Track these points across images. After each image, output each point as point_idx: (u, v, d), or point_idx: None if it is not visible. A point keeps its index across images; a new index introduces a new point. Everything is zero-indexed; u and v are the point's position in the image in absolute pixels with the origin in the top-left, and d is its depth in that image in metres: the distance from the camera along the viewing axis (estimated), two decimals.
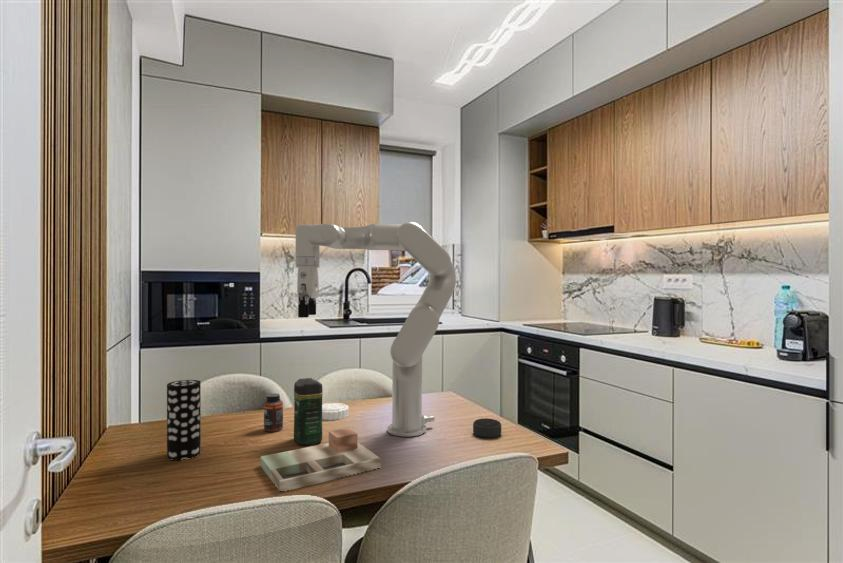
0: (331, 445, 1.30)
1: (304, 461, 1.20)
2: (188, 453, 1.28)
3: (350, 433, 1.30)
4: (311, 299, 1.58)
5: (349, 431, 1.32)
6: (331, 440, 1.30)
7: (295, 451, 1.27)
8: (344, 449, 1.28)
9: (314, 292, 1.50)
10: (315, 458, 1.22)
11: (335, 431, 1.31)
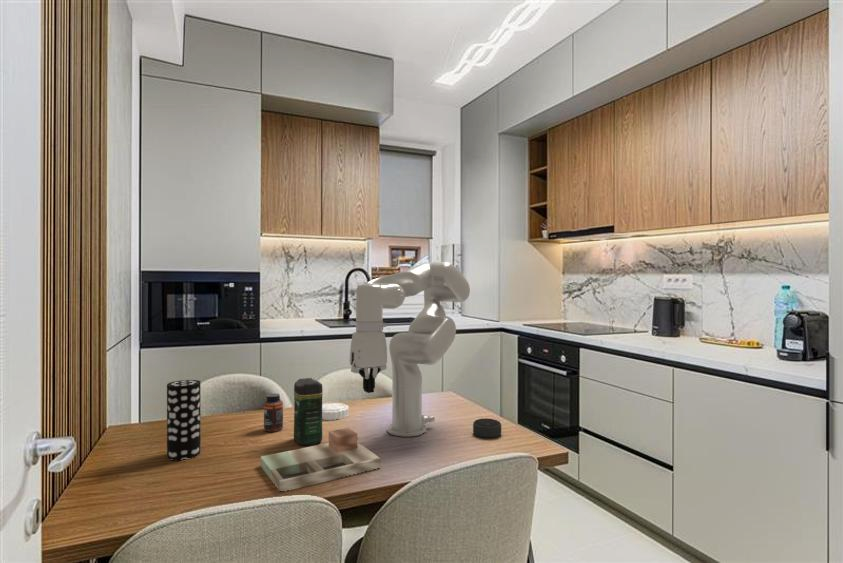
0: (331, 445, 1.30)
1: (304, 461, 1.20)
2: (188, 453, 1.28)
3: (350, 433, 1.30)
4: None
5: (349, 431, 1.32)
6: (331, 440, 1.30)
7: (295, 451, 1.27)
8: (344, 449, 1.28)
9: None
10: (315, 458, 1.22)
11: (335, 431, 1.31)
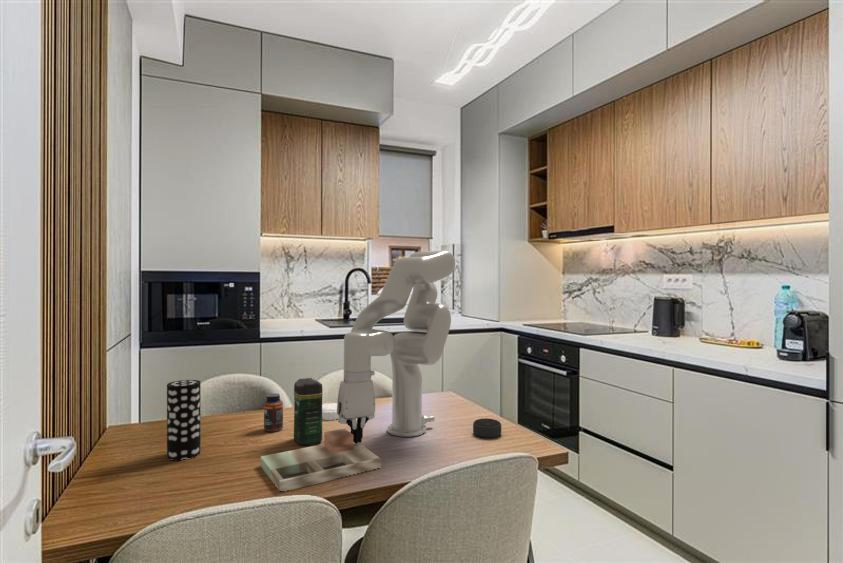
0: (327, 446, 1.29)
1: (304, 461, 1.20)
2: (188, 453, 1.28)
3: (346, 433, 1.29)
4: None
5: (344, 432, 1.31)
6: (327, 441, 1.29)
7: (295, 451, 1.27)
8: (340, 450, 1.27)
9: None
10: (315, 458, 1.22)
11: (331, 432, 1.31)
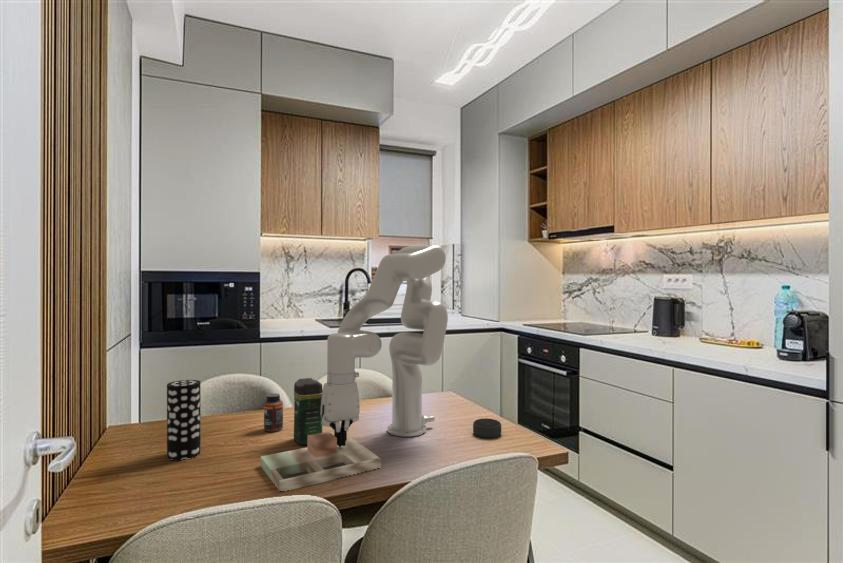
0: (310, 449, 1.26)
1: (304, 461, 1.20)
2: (188, 453, 1.28)
3: (329, 437, 1.27)
4: None
5: (328, 435, 1.28)
6: (310, 444, 1.26)
7: (295, 451, 1.27)
8: (323, 454, 1.24)
9: None
10: (315, 458, 1.22)
11: (314, 435, 1.28)
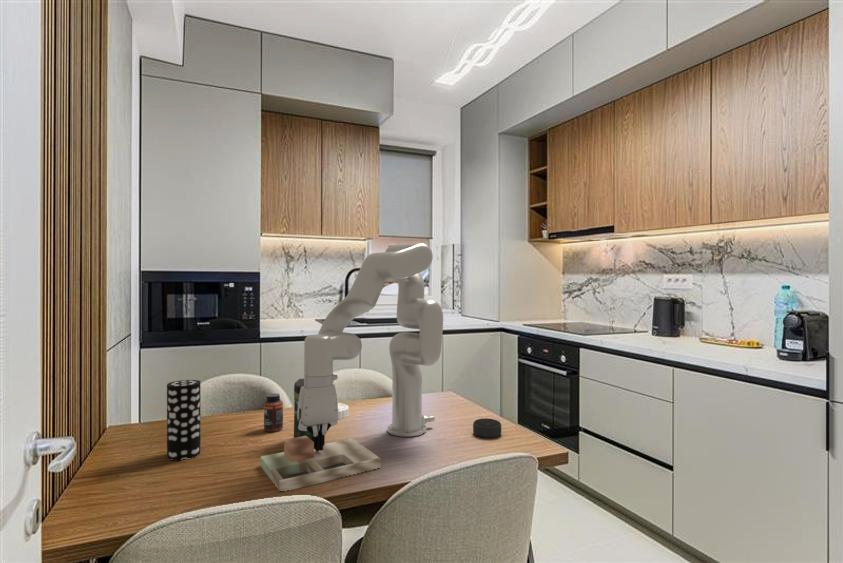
0: (286, 454, 1.23)
1: (304, 461, 1.20)
2: (188, 453, 1.28)
3: (306, 441, 1.23)
4: None
5: (305, 439, 1.25)
6: (286, 449, 1.23)
7: None
8: (299, 458, 1.21)
9: None
10: (315, 458, 1.22)
11: (291, 439, 1.25)
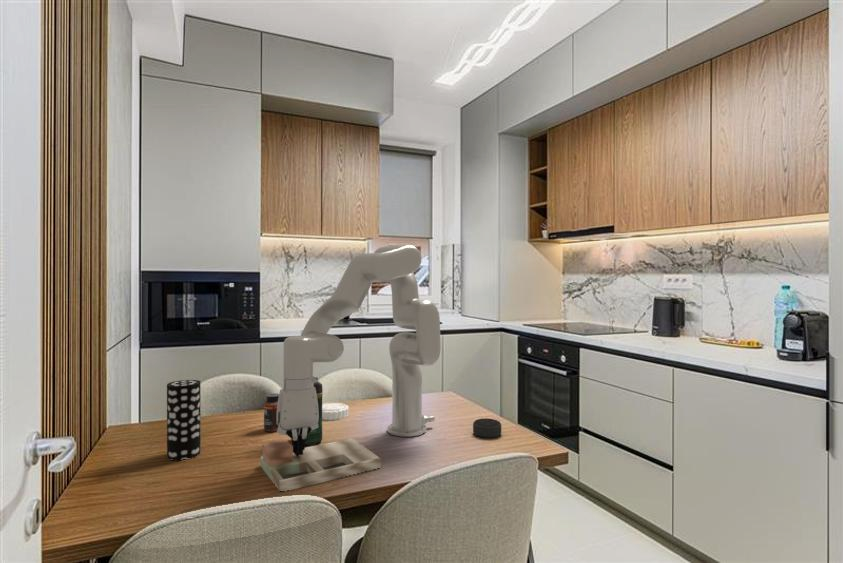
0: (264, 458, 1.20)
1: (304, 461, 1.20)
2: (188, 453, 1.28)
3: (285, 445, 1.20)
4: None
5: (284, 443, 1.22)
6: (264, 453, 1.20)
7: None
8: (277, 463, 1.18)
9: None
10: (315, 458, 1.22)
11: (270, 443, 1.22)
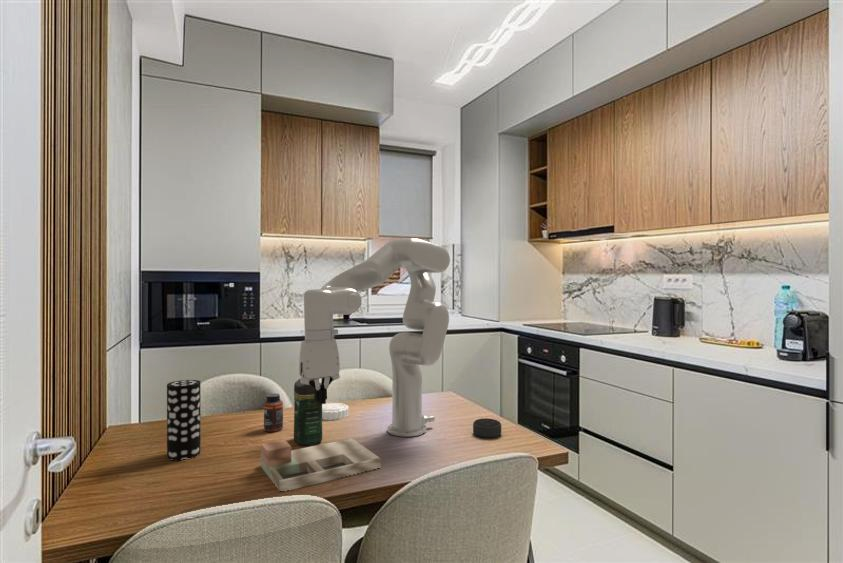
0: (263, 459, 1.20)
1: (304, 461, 1.20)
2: (188, 453, 1.28)
3: (283, 445, 1.20)
4: None
5: (283, 443, 1.22)
6: (263, 453, 1.20)
7: (295, 451, 1.27)
8: (276, 463, 1.18)
9: None
10: (315, 458, 1.22)
11: (268, 443, 1.21)
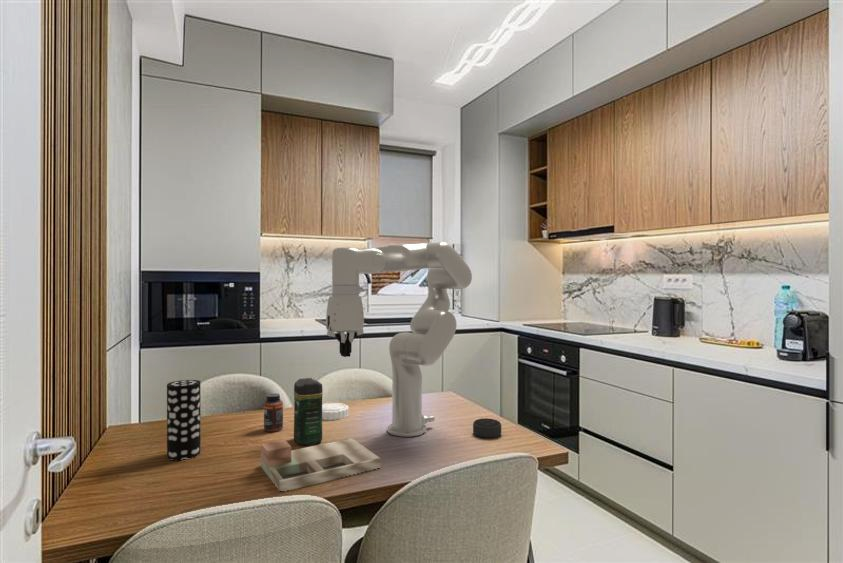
0: (263, 459, 1.20)
1: (304, 461, 1.20)
2: (188, 453, 1.28)
3: (283, 445, 1.20)
4: None
5: (283, 443, 1.22)
6: (263, 453, 1.20)
7: (295, 451, 1.27)
8: (276, 463, 1.18)
9: None
10: (315, 458, 1.22)
11: (268, 443, 1.21)
